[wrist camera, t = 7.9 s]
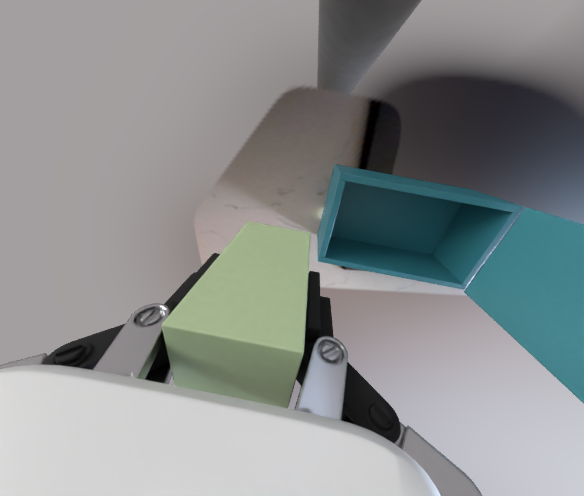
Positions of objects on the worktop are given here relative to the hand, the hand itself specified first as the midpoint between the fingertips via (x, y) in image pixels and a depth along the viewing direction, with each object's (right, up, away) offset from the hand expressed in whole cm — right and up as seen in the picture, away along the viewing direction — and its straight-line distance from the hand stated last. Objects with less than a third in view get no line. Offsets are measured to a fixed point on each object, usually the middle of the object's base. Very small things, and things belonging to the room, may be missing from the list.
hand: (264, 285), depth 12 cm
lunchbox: (+15, +7, +17) cm, 24 cm away
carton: (0, +2, +3) cm, 4 cm away
